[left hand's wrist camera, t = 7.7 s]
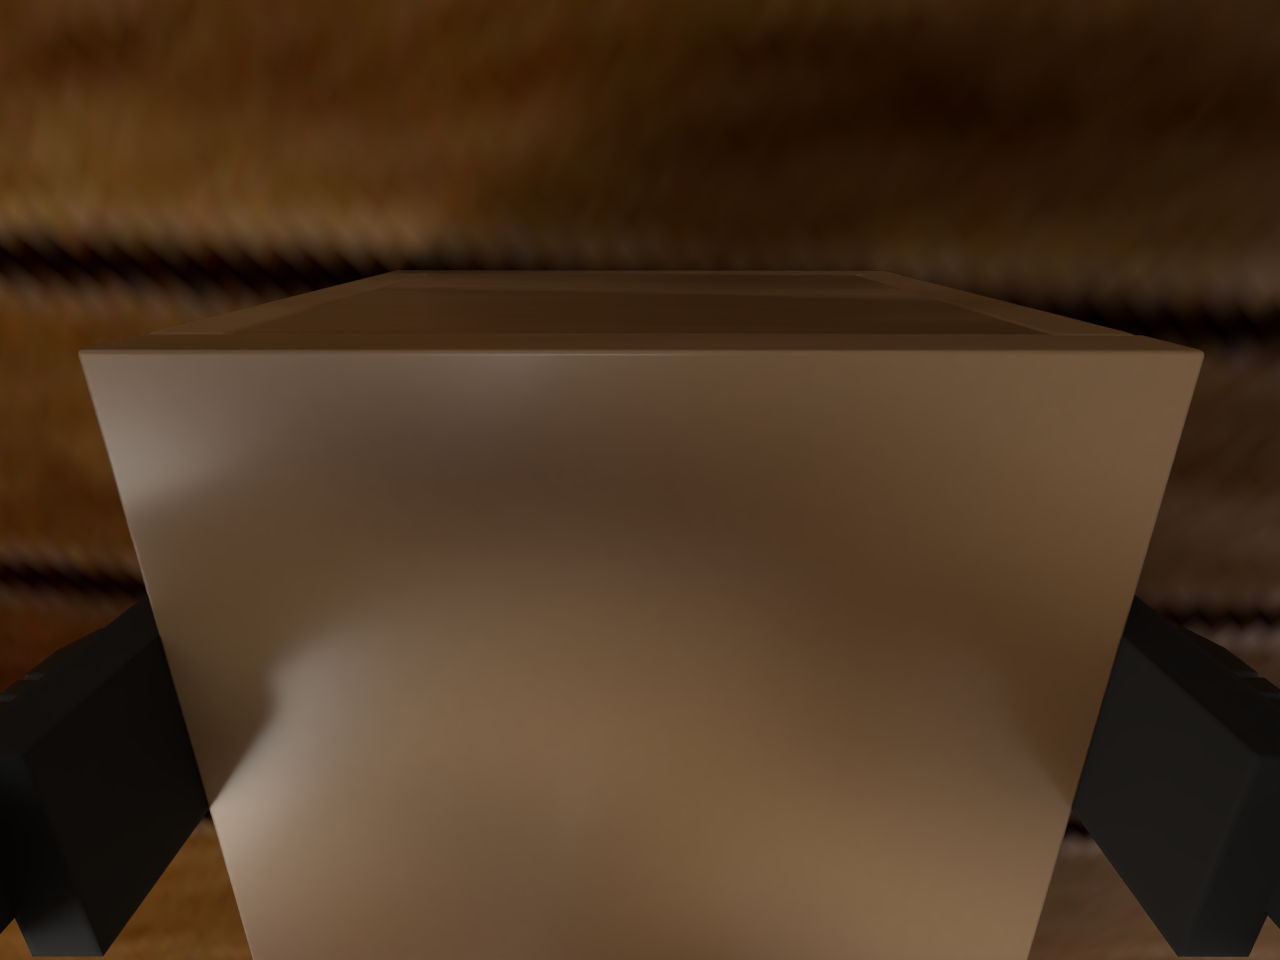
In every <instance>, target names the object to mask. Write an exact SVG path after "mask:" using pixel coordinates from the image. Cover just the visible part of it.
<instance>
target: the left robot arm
mask: <svg viewBox="0 0 1280 960" xmlns="http://www.w3.org/2000/svg"><path fill="white" fill-rule="evenodd" d="M208 810H209V805H208V802H207V798H206V795H205V791H204V788H203V784H202V781H201V777H200V774H199V770H198V767H197V763H196V760H195V757H194V753H193V750H192V746H191V743H190V739H189V736H188V732H187V729H186V725H185V722H184V718H183V715H182V712H181V708H180V705H179V701H178V698H177V694H176V691H175V687H174V684H173V680H172V677H171V673H170V670H169V667H168V663H167V660H166V656H165V653H164V649H163V646H162V642H161V639H160V635H159V632H158V628H157V625H156V622H155V618H154V615H153V611H152V608H151V604H150V601H149V597H148V594H147V595H146V596H145V597H143V598H142V599H141V600H139V601H138V602H137V603H136V604H134V605H133V606H132V607H131V608H129V609H128V610H127V611H125V612H124V613H123V614H122V615H120V616H119V617H118V618H116V619H115V620H114V621H113V622H111V623H110V624H109V625H108V626H106V627H105V628H104V629H99V630H97V631H95V632H93V633H91V634H89V635H87V636H85V637H83V638H81V639H79V640H77V641H75V642H73V643H71V644H69V645H67V646H65V647H63V648H61V649H59V650H57V651H56V652H55V653H53V654H52V655H51V656H49V657H48V658H47V659H45V660H44V661H43V662H41V663H40V664H39V665H38V666H36V667H35V668H34V669H32V670H31V671H30V672H28V673H27V674H26V675H25V678H24V680H18V681H16V682H15V683H14V684H12V685H11V686H10V687H8V688H7V689H6V690H5V691H3V692H2V693H1V694H0V934H1V933H2V931H3V930H4V929H5V928H6V927H7V926H8V925H9V923H10V922H11V921H12V920H13V919H14V918H15V919H16V921H17V923H18V925H19V928H20V930H21V932H22V934H23V936H24V939H25V941H26V943H27V945H28V947H29V950H30V952H31V954H32V956H104V954H105V953H106V951H107V950H108V949H109V947H110V946H111V945H112V943H113V942H114V940H115V939H116V938H117V936H118V935H119V933H120V932H121V931H122V929H123V928H124V926H125V925H126V924H127V922H128V921H129V919H130V918H131V917H132V915H133V914H134V913H135V911H136V910H137V908H138V907H139V906H140V904H141V903H142V901H143V900H144V899H145V897H146V896H147V894H148V893H149V892H150V890H151V889H152V887H153V886H154V885H155V883H156V882H157V881H158V879H159V878H160V876H161V875H162V874H163V872H164V871H165V869H166V868H167V867H168V865H169V864H170V862H171V861H172V860H173V858H174V857H175V855H176V854H177V853H178V851H179V850H180V848H181V847H182V846H183V844H184V843H185V842H186V840H187V839H188V837H189V836H190V835H191V833H192V832H193V830H194V829H195V828H196V826H197V825H198V823H199V822H200V821H201V819H202V818H203V816H204V815H205V814H206V812H207V811H208ZM1072 810H1073V811H1074V812H1075V814H1076V815H1077V817H1078V818H1079V819H1080V821H1081V822H1082V824H1083V825H1084V826H1085V828H1086V829H1087V831H1088V832H1089V833H1090V835H1091V836H1092V838H1093V839H1094V840H1095V842H1096V843H1097V844H1098V846H1099V847H1100V849H1101V850H1102V851H1103V853H1104V854H1105V856H1106V857H1107V858H1108V860H1109V861H1110V863H1111V864H1112V865H1113V867H1114V868H1115V870H1116V871H1117V872H1118V874H1119V875H1120V877H1121V878H1122V879H1123V881H1124V882H1125V883H1126V885H1127V886H1128V888H1129V889H1130V890H1131V892H1132V893H1133V895H1134V896H1135V897H1136V899H1137V900H1138V902H1139V903H1140V904H1141V906H1142V907H1143V909H1144V910H1145V911H1146V913H1147V914H1148V915H1149V917H1150V918H1151V920H1152V921H1153V922H1154V924H1155V925H1156V927H1157V928H1158V929H1159V931H1160V932H1161V934H1162V935H1163V936H1164V938H1165V939H1166V941H1167V942H1168V943H1169V945H1170V946H1171V947H1172V949H1173V950H1174V952H1175V953H1176V954H1177V956H1215V957H1249V954H1250V952H1251V950H1252V948H1253V946H1254V944H1255V941H1256V939H1257V937H1258V935H1259V933H1260V930H1261V928H1262V926H1263V924H1264V922H1265V919H1266V917H1267V915H1268V916H1269V917H1270V918H1271V919H1272V920H1273V922H1274V923H1275V924H1276V925H1277V926H1278V927H1279V928H1280V689H1279V688H1277V687H1276V686H1275V685H1273V684H1272V683H1271V682H1269V681H1268V680H1267V679H1265V678H1259V677H1258V673H1257V672H1256V671H1255V670H1253V669H1252V668H1251V667H1249V666H1248V665H1247V664H1245V663H1244V662H1243V661H1241V660H1240V659H1239V658H1237V657H1236V656H1235V655H1233V654H1232V653H1231V652H1229V651H1228V650H1227V649H1225V648H1224V647H1222V646H1220V645H1218V644H1216V643H1214V642H1212V641H1210V640H1208V639H1206V638H1204V637H1202V636H1200V635H1198V634H1196V633H1194V632H1192V631H1190V630H1188V629H1186V628H1184V627H1182V626H1173V625H1172V624H1171V623H1170V622H1168V621H1167V620H1166V619H1165V618H1163V617H1162V616H1161V615H1159V614H1158V613H1157V612H1156V611H1154V610H1153V609H1152V608H1150V607H1149V606H1148V605H1147V604H1145V603H1144V602H1143V601H1141V600H1140V599H1139V598H1138V597H1136V596H1135V595H1134V598H1133V601H1132V605H1131V608H1130V612H1129V615H1128V618H1127V622H1126V625H1125V629H1124V632H1123V636H1122V639H1121V642H1120V646H1119V649H1118V653H1117V656H1116V659H1115V663H1114V666H1113V670H1112V673H1111V677H1110V680H1109V683H1108V687H1107V690H1106V694H1105V697H1104V700H1103V704H1102V707H1101V711H1100V714H1099V718H1098V721H1097V724H1096V728H1095V731H1094V735H1093V738H1092V741H1091V745H1090V748H1089V752H1088V755H1087V759H1086V762H1085V765H1084V769H1083V772H1082V776H1081V779H1080V782H1079V786H1078V789H1077V793H1076V796H1075V800H1074V803H1073V806H1072Z"/></svg>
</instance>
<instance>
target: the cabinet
mask: <svg viewBox="0 0 1280 960" xmlns="http://www.w3.org/2000/svg"><path fill="white" fill-rule="evenodd" d="M78 355H79V358H80V362H81V365H82V369H83V372H84V376H85V379H86V383H87V386H88V390H89V393H90V396H91V400H92V403H93V407H94V410H95V414H96V417H97V421H98V424H99V428H100V431H101V435H102V438H103V441H104V445H105V448H106V452H107V455H108V459H109V462H110V466H111V469H112V473H113V476H114V480H115V483H116V486H117V490H118V493H119V497H120V500H121V504H122V507H123V511H124V514H125V518H126V521H127V525H128V528H129V531H130V535H131V538H132V542H133V545H134V549H135V552H136V556H137V559H138V563H139V566H140V570H141V573H142V576H143V580H144V583H145V587H146V590H147V594H148V597H149V601H150V604H151V608H152V611H153V615H154V618H155V622H156V625H157V628H158V632H159V635H160V639H161V642H162V646H163V649H164V653H165V656H166V660H167V663H168V667H169V670H170V673H171V677H172V680H173V684H174V687H175V691H176V694H177V698H178V701H179V705H180V708H181V712H182V715H183V718H184V722H185V725H186V729H187V732H188V736H189V739H190V743H191V746H192V750H193V753H194V757H195V760H196V763H197V767H198V770H199V774H200V777H201V781H202V784H203V788H204V791H205V795H206V798H207V802H208V805H209V809H210V812H211V815H212V819H213V822H214V826H215V829H216V833H217V836H218V840H219V843H220V847H221V850H222V854H223V857H224V860H225V864H226V867H227V871H228V874H229V878H230V881H231V885H232V888H233V892H234V895H235V899H236V902H237V905H238V909H239V912H240V916H241V919H242V923H243V926H244V930H245V933H246V937H247V940H248V944H249V947H250V950H251V954H252V957H253V960H1028V957H1029V953H1030V950H1031V946H1032V943H1033V940H1034V936H1035V933H1036V929H1037V926H1038V923H1039V919H1040V916H1041V912H1042V909H1043V905H1044V902H1045V899H1046V895H1047V892H1048V888H1049V885H1050V882H1051V878H1052V875H1053V871H1054V868H1055V864H1056V861H1057V858H1058V854H1059V851H1060V847H1061V844H1062V841H1063V837H1064V834H1065V830H1066V827H1067V823H1068V820H1069V817H1070V813H1071V810H1072V806H1073V803H1074V800H1075V796H1076V793H1077V789H1078V786H1079V782H1080V779H1081V776H1082V772H1083V769H1084V765H1085V762H1086V759H1087V755H1088V752H1089V748H1090V745H1091V741H1092V738H1093V735H1094V731H1095V728H1096V724H1097V721H1098V718H1099V714H1100V711H1101V707H1102V704H1103V700H1104V697H1105V694H1106V690H1107V687H1108V683H1109V680H1110V677H1111V673H1112V670H1113V666H1114V663H1115V659H1116V656H1117V653H1118V649H1119V646H1120V642H1121V639H1122V636H1123V632H1124V629H1125V625H1126V622H1127V618H1128V615H1129V612H1130V608H1131V605H1132V601H1133V598H1134V595H1135V591H1136V588H1137V584H1138V581H1139V577H1140V574H1141V571H1142V567H1143V564H1144V560H1145V557H1146V553H1147V550H1148V547H1149V543H1150V540H1151V536H1152V533H1153V530H1154V526H1155V523H1156V519H1157V516H1158V512H1159V509H1160V506H1161V502H1162V499H1163V495H1164V492H1165V489H1166V485H1167V482H1168V478H1169V475H1170V471H1171V468H1172V465H1173V461H1174V458H1175V454H1176V451H1177V448H1178V444H1179V441H1180V437H1181V434H1182V430H1183V427H1184V424H1185V420H1186V417H1187V413H1188V410H1189V407H1190V403H1191V400H1192V396H1193V393H1194V389H1195V386H1196V383H1197V379H1198V376H1199V372H1200V369H1201V366H1202V362H1203V359H1204V352H1202V351H1200V350H1198V349H1194V348H1190V347H1186V346H1182V345H1178V344H1174V343H1170V342H1166V341H1162V340H1158V339H1154V338H1150V337H1146V336H1142V335H1133V334H1130V333H1127V332H1123V331H1119V330H1115V329H1111V328H1107V327H1103V326H1099V325H1095V324H1091V323H1088V322H1084V321H1080V320H1076V319H1072V318H1068V317H1064V316H1060V315H1056V314H1052V313H1048V312H1044V311H1040V310H1036V309H1032V308H1028V307H1024V306H1020V305H1016V304H1013V303H1009V302H1005V301H1001V300H997V299H993V298H989V297H985V296H981V295H977V294H973V293H969V292H965V291H961V290H957V289H953V288H949V287H945V286H942V285H938V284H934V283H930V282H926V281H922V280H918V279H914V278H910V277H906V276H902V275H898V274H895V273H891V272H887V271H699V270H396V271H392V272H388V273H385V274H381V275H377V276H373V277H369V278H365V279H361V280H357V281H353V282H349V283H345V284H341V285H337V286H333V287H329V288H325V289H321V290H317V291H313V292H309V293H305V294H301V295H297V296H293V297H289V298H285V299H281V300H277V301H273V302H269V303H265V304H261V305H257V306H253V307H249V308H245V309H241V310H237V311H233V312H229V313H225V314H221V315H217V316H213V317H209V318H206V319H202V320H198V321H194V322H190V323H186V324H182V325H178V326H174V327H170V328H166V329H162V330H158V331H154V332H151V333H149V334H139V335H135V336H131V337H127V338H123V339H119V340H114V341H110V342H106V343H102V344H98V345H94V346H90V347H86V348H83V349H81V350H79V354H78Z"/></svg>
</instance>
